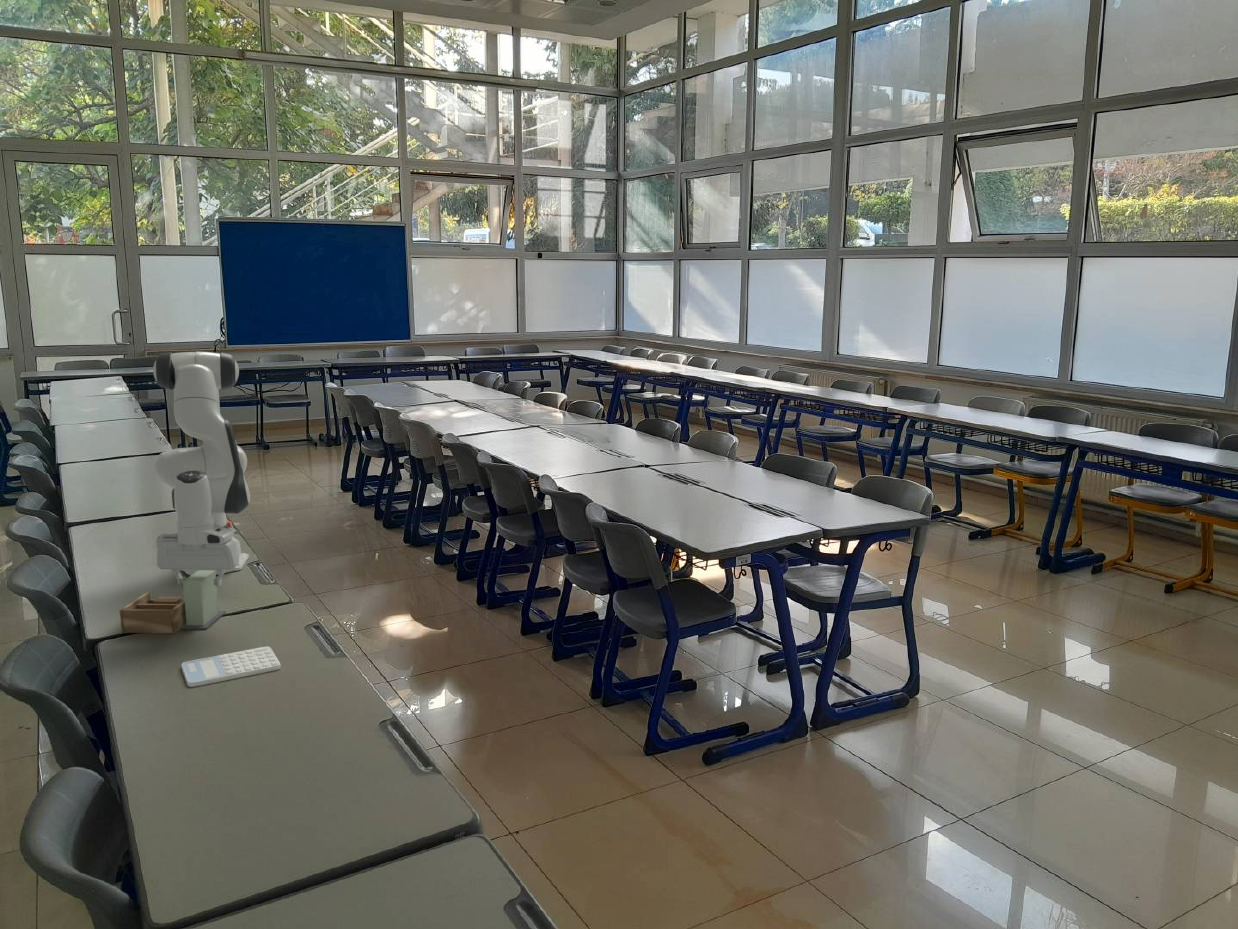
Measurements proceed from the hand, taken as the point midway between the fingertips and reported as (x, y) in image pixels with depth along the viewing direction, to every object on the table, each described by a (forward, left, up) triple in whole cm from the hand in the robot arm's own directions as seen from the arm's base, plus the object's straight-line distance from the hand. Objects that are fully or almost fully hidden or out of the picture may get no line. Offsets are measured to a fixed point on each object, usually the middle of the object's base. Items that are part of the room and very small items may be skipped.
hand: (200, 584), depth 240 cm
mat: (0, 0, -10) cm, 10 cm away
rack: (+2, -10, -10) cm, 14 cm away
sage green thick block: (0, 0, -10) cm, 10 cm away
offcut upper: (-2, -10, -7) cm, 13 cm away
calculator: (+30, +19, -11) cm, 37 cm away
